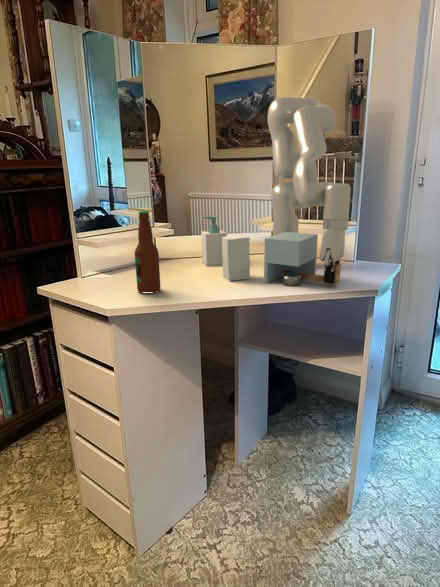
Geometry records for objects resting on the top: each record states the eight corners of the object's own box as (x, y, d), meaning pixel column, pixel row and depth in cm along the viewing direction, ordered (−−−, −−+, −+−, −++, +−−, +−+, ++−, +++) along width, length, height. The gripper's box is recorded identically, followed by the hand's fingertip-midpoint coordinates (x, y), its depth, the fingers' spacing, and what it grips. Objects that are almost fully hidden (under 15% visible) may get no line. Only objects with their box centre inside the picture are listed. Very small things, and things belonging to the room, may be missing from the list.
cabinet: (264, 282, 136) (264, 238, 132) (284, 272, 149) (285, 231, 145) (297, 287, 130) (299, 241, 126) (315, 276, 143) (317, 234, 138)
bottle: (147, 286, 134) (142, 209, 127) (165, 289, 130) (160, 210, 123) (132, 292, 128) (126, 212, 121) (150, 295, 124) (145, 213, 117)
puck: (279, 284, 134) (279, 275, 133) (287, 280, 139) (287, 272, 138) (296, 287, 131) (296, 278, 130) (303, 283, 135) (303, 274, 135)
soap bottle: (201, 261, 169) (200, 215, 163) (222, 260, 171) (221, 214, 165) (206, 266, 161) (204, 217, 155) (227, 264, 163) (227, 216, 157)
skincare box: (243, 275, 146) (243, 234, 142) (250, 279, 141) (250, 236, 137) (221, 277, 144) (221, 235, 139) (228, 282, 138) (227, 238, 134)
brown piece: (280, 276, 138) (281, 259, 137) (285, 274, 142) (286, 257, 140) (335, 284, 129) (337, 266, 127) (339, 281, 132) (340, 263, 130)
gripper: (332, 220, 134) (328, 274, 140) (314, 227, 121) (310, 286, 126) (355, 222, 130) (350, 277, 136) (339, 228, 117) (334, 289, 122)
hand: (331, 280), depth 131 cm, fingers closed on brown piece, 4 cm apart
